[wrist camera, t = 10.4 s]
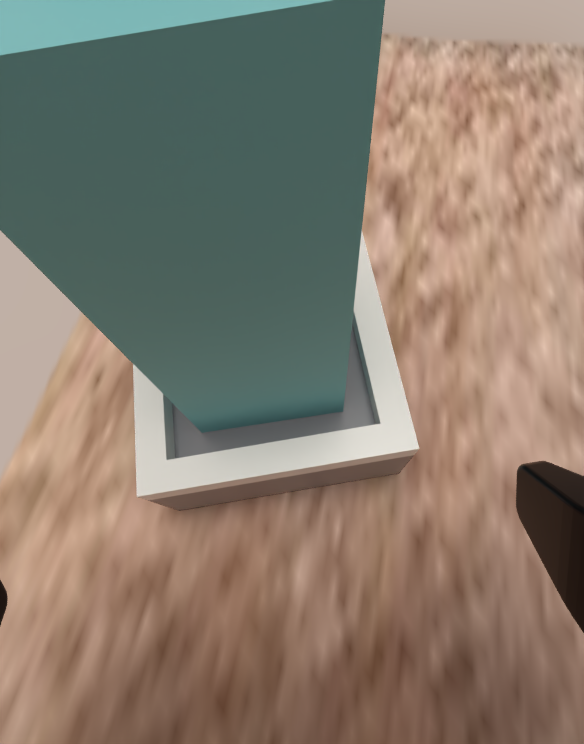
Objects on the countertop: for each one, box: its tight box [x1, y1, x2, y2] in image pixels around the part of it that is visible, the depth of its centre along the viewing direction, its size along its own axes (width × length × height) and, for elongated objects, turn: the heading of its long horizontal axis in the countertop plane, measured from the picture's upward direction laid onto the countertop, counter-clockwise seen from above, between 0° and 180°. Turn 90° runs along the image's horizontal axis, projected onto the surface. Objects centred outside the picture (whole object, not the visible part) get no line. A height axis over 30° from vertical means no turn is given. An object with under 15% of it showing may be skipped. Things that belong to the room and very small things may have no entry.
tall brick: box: [0, 0, 385, 433], centre depth 11 cm, size 5×5×14 cm
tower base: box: [133, 232, 419, 511], centre depth 18 cm, size 9×9×4 cm
